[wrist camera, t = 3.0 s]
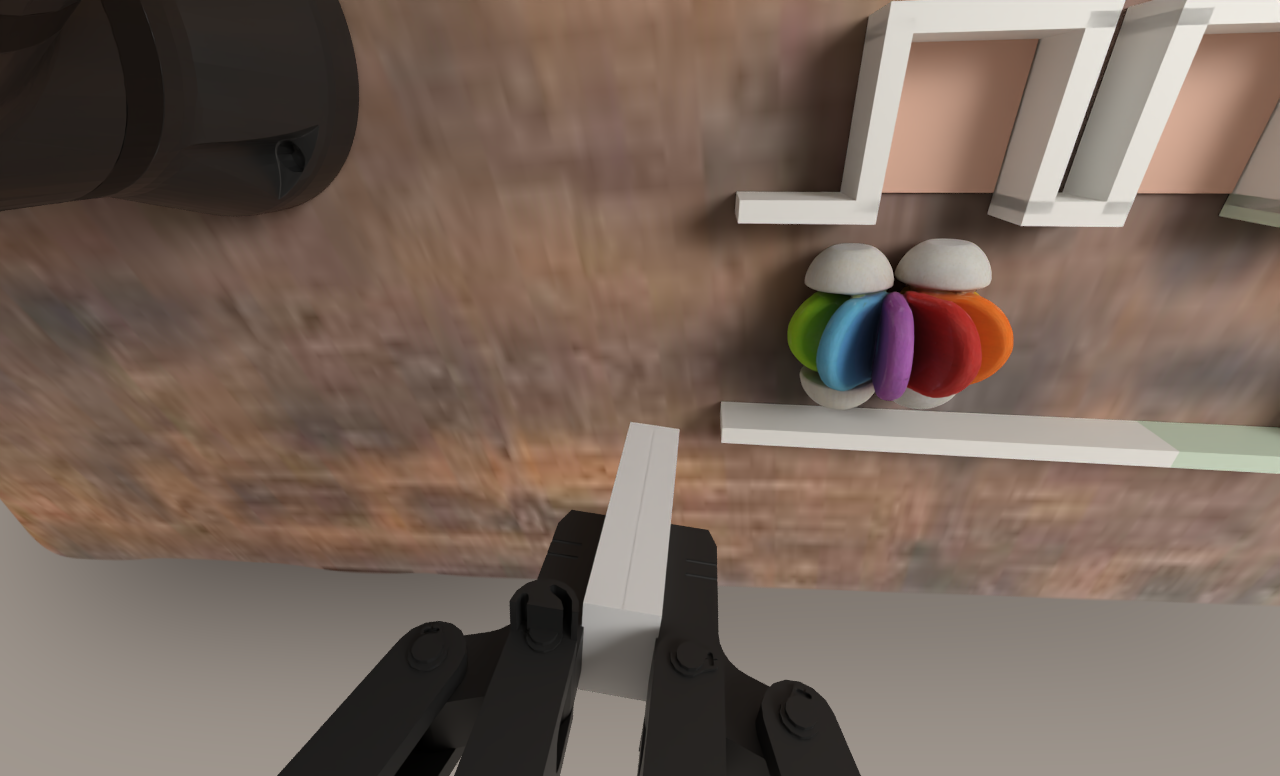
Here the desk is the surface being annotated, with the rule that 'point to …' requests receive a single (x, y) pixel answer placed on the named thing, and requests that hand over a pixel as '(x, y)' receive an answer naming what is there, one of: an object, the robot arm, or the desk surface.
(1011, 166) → the box
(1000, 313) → the rainbow petal toy
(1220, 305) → the desk surface
